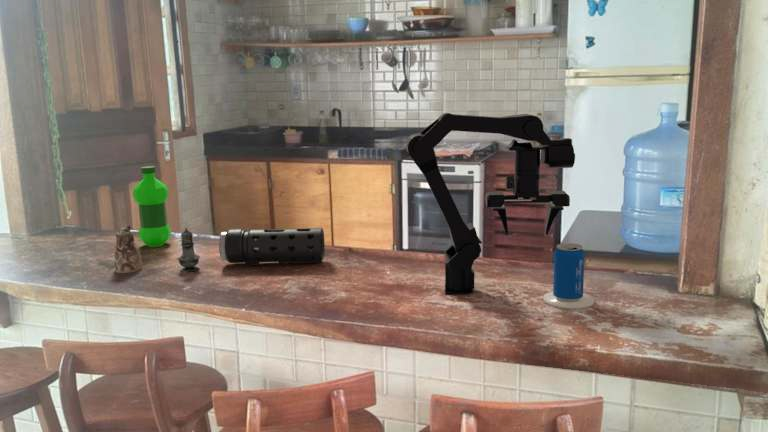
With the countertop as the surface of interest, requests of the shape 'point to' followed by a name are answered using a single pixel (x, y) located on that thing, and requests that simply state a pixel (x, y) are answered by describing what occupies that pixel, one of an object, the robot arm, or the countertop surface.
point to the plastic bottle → (152, 209)
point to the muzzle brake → (272, 246)
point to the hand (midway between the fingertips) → (526, 234)
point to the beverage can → (568, 272)
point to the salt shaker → (188, 254)
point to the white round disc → (580, 304)
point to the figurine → (126, 252)
